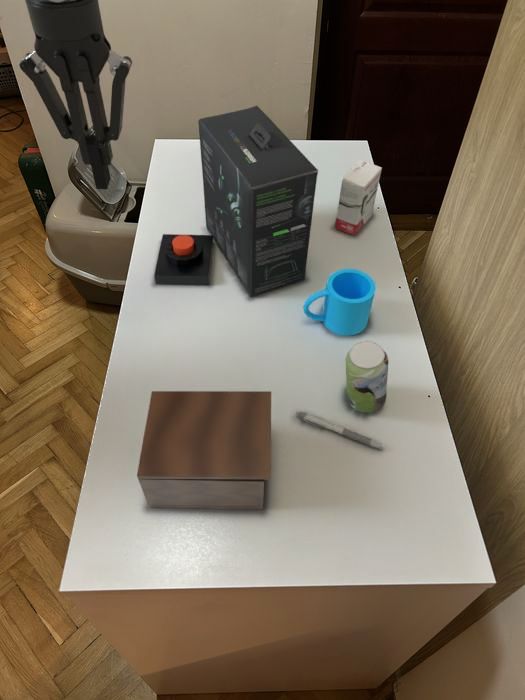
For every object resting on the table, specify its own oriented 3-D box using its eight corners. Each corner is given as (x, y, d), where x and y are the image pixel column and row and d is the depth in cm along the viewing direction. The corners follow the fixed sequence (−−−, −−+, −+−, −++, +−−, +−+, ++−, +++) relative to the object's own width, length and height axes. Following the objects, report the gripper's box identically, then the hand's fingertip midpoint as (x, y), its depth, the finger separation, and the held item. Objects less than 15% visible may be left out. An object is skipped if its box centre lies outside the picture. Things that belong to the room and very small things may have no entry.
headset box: (307, 281, 101) (321, 157, 80) (250, 300, 97) (249, 176, 77) (256, 214, 113) (257, 92, 93) (204, 229, 110) (193, 106, 90)
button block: (155, 284, 100) (152, 268, 96) (164, 242, 107) (161, 226, 104) (208, 285, 100) (207, 269, 96) (213, 243, 107) (212, 227, 104)
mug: (360, 299, 98) (367, 266, 91) (373, 332, 93) (382, 300, 86) (296, 306, 96) (299, 273, 90) (306, 340, 91) (310, 308, 85)
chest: (264, 429, 80) (265, 396, 73) (263, 509, 72) (264, 481, 66) (161, 427, 80) (152, 394, 73) (148, 507, 72) (137, 479, 66)
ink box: (354, 237, 109) (363, 187, 100) (333, 228, 111) (340, 178, 101) (372, 215, 114) (383, 166, 104) (352, 207, 115) (361, 158, 106)
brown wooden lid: (271, 394, 73) (271, 391, 72) (270, 479, 65) (270, 476, 64) (152, 394, 73) (151, 391, 73) (137, 478, 65) (136, 476, 65)
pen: (296, 413, 82) (297, 408, 81) (383, 447, 79) (385, 443, 77) (294, 418, 82) (294, 413, 80) (381, 453, 78) (383, 448, 77)
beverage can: (389, 413, 82) (406, 366, 73) (343, 419, 82) (354, 373, 72) (377, 380, 86) (392, 332, 77) (333, 386, 85) (342, 338, 76)
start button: (172, 255, 99) (170, 248, 98) (174, 241, 102) (173, 234, 100) (193, 256, 99) (192, 249, 98) (195, 242, 102) (194, 235, 100)
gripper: (127, -20, 59) (153, 170, 77) (9, -24, 59) (63, 167, 77) (114, 5, 54) (146, 200, 73) (-14, 0, 54) (50, 197, 72)
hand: (103, 183), depth 75 cm, fingers closed
